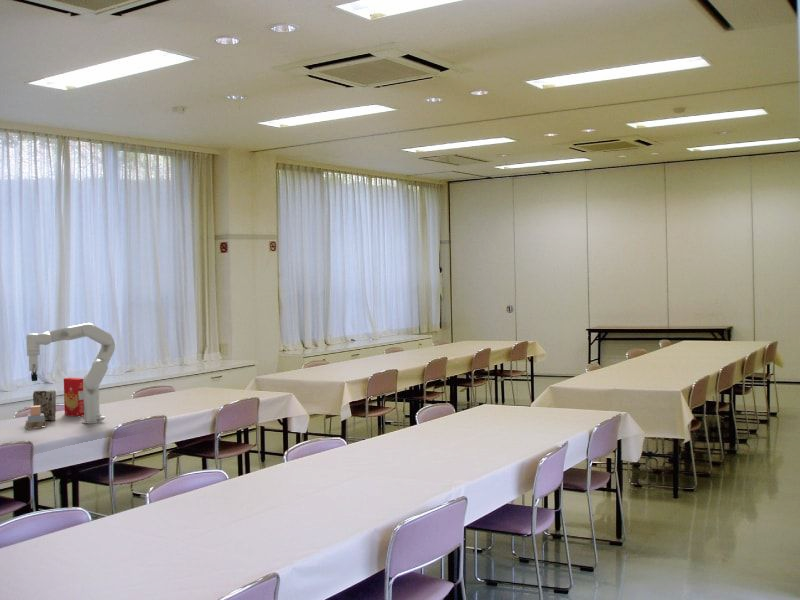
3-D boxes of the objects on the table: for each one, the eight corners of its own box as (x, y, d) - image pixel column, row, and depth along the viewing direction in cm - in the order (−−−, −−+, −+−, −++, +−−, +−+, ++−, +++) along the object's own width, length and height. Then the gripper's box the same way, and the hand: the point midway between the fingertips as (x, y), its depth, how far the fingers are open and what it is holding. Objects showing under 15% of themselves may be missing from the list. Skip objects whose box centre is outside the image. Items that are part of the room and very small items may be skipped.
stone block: (57, 419, 539) (56, 389, 538) (53, 421, 532) (52, 391, 531) (36, 419, 538) (36, 389, 538) (32, 421, 531) (31, 391, 531)
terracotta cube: (40, 413, 518) (40, 405, 518) (40, 415, 513) (40, 406, 513) (31, 414, 516) (30, 405, 515) (30, 415, 511) (30, 407, 510)
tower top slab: (43, 419, 521) (43, 413, 520) (44, 421, 513) (44, 415, 513) (27, 420, 516) (27, 414, 516) (29, 422, 508) (28, 416, 508)
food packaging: (64, 414, 555) (63, 378, 554) (71, 413, 560) (70, 377, 559) (78, 416, 548) (77, 379, 547) (85, 415, 552) (84, 378, 551)
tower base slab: (44, 425, 522) (44, 418, 522) (45, 428, 512) (45, 421, 512) (25, 426, 517) (25, 420, 517) (26, 429, 507) (26, 423, 507)
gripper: (26, 352, 518) (27, 378, 519) (27, 354, 503) (28, 382, 503) (39, 351, 521) (40, 378, 522) (40, 353, 506) (41, 381, 507)
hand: (34, 380), depth 513 cm, fingers open, 9 cm apart
